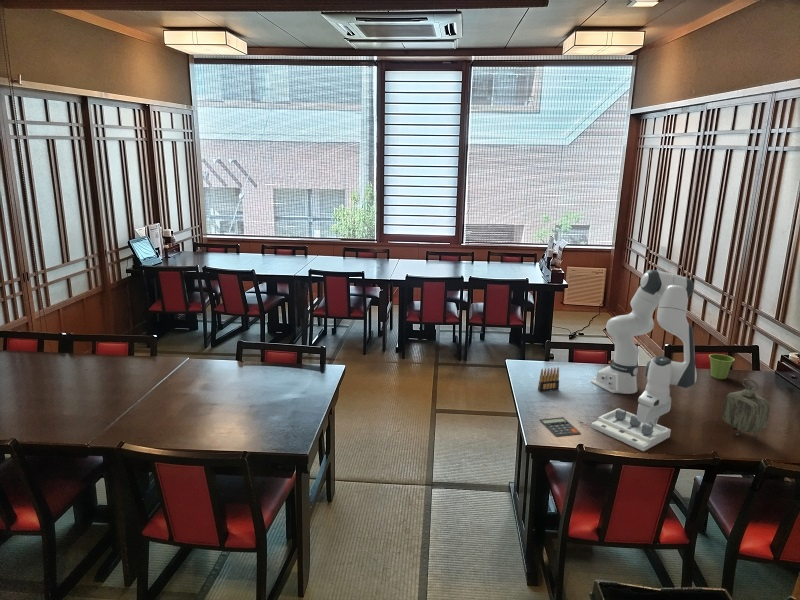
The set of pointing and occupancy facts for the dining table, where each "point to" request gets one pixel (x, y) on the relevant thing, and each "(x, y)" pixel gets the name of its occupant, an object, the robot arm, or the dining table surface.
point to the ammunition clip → (549, 380)
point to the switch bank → (630, 431)
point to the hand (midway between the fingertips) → (652, 426)
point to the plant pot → (720, 365)
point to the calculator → (559, 426)
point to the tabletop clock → (746, 410)
